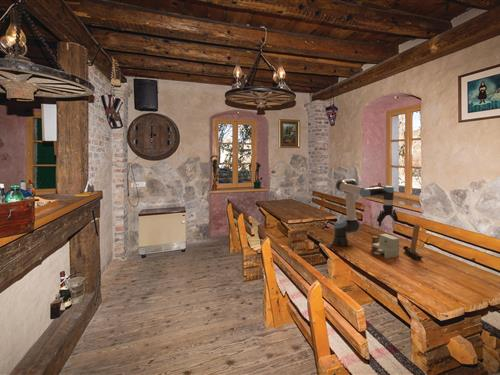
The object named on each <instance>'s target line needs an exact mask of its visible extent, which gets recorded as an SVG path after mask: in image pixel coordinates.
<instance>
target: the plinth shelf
mask: <svg viewBox="0 0 500 375" xmlns="http://www.w3.org/2000/svg"><path fill="white" fill-rule="evenodd" d="M372 246H374V247H376V248H379V249H381V250H383V251H385V254H383V255H384V256H383V257H384V259H390V258H395V257H399V255H400V253H399V252H400V237H396V236H393V235H391V234H388V233H382V234H379V243H374V244H372V243H371V247H372Z"/></svg>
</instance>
